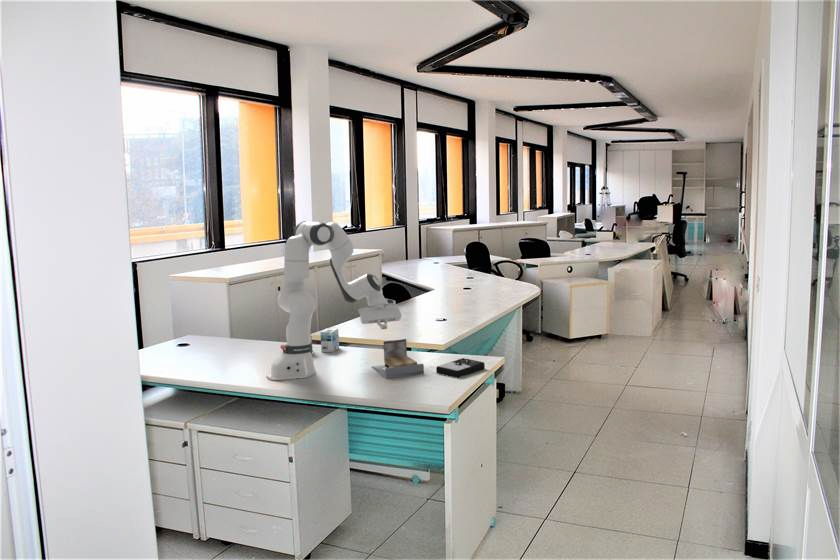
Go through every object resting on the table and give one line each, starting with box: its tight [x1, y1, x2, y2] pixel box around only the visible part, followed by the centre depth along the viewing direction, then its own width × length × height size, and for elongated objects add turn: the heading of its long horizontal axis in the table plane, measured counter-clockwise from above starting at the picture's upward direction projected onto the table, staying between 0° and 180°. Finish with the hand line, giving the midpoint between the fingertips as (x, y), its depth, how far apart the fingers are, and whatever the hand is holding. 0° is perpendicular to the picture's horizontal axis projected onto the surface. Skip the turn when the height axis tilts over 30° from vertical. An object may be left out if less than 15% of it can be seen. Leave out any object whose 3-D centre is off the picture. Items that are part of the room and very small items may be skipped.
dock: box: [370, 363, 425, 380], centre depth 319 cm, size 18×24×6 cm
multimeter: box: [435, 357, 486, 379], centre depth 313 cm, size 13×19×5 cm
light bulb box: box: [320, 327, 340, 353], centre depth 363 cm, size 11×7×11 cm, turn 168°
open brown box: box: [382, 338, 418, 368], centre depth 315 cm, size 11×14×12 cm
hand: (384, 328), depth 331 cm, fingers closed
